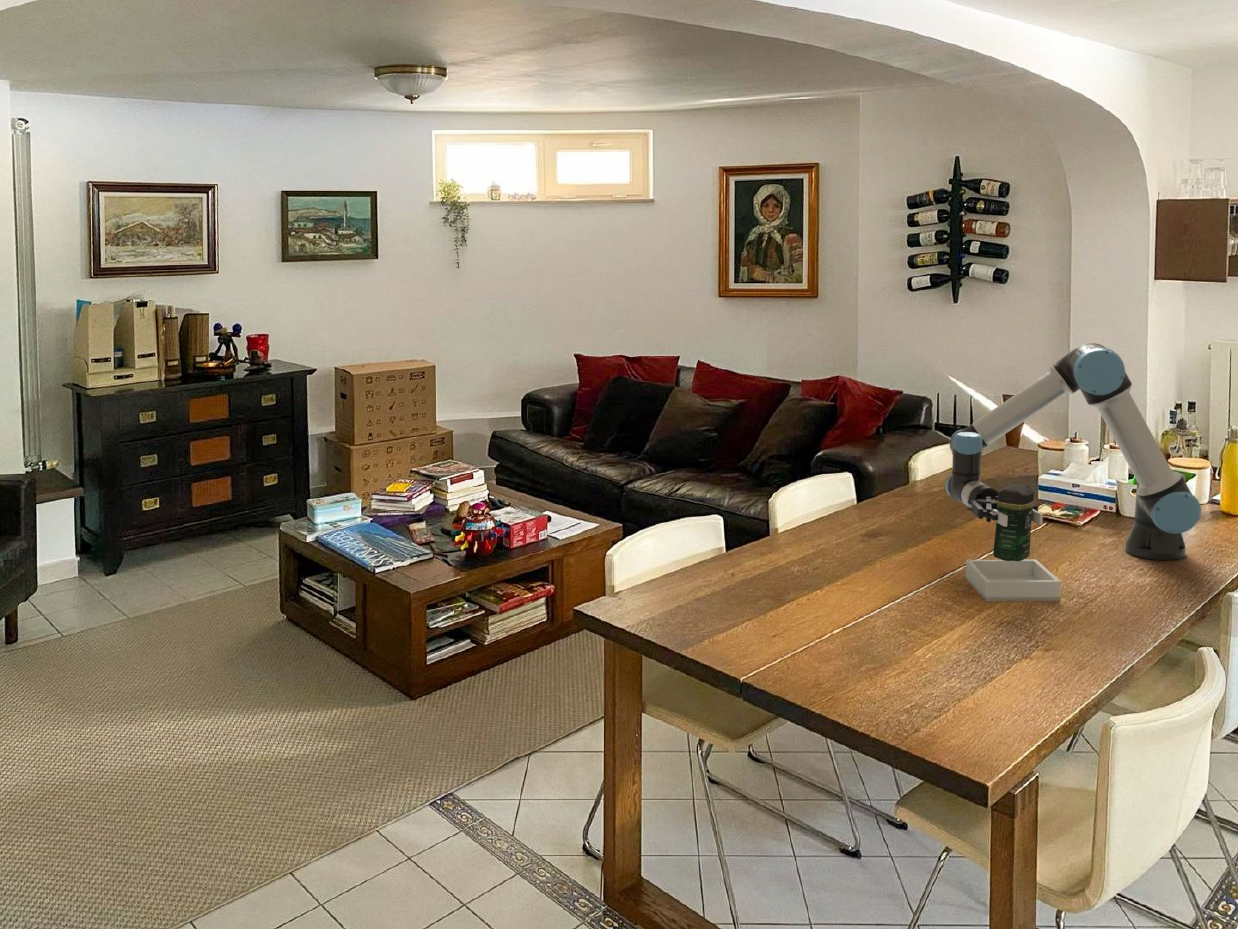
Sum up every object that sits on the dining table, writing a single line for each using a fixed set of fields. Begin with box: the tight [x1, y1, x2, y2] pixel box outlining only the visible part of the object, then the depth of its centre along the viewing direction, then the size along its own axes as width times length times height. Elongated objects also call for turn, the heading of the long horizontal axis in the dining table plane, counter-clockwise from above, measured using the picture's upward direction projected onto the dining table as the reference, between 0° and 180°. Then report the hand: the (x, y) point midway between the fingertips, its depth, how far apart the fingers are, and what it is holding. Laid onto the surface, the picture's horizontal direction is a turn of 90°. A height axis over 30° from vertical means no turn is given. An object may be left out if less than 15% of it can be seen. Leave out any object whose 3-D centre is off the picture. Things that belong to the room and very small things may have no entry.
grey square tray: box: [964, 559, 1062, 602], centre depth 272 cm, size 18×18×5 cm
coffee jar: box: [992, 483, 1035, 562], centre depth 269 cm, size 10×8×19 cm
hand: (1023, 520), depth 264 cm, fingers closed on coffee jar, 8 cm apart
